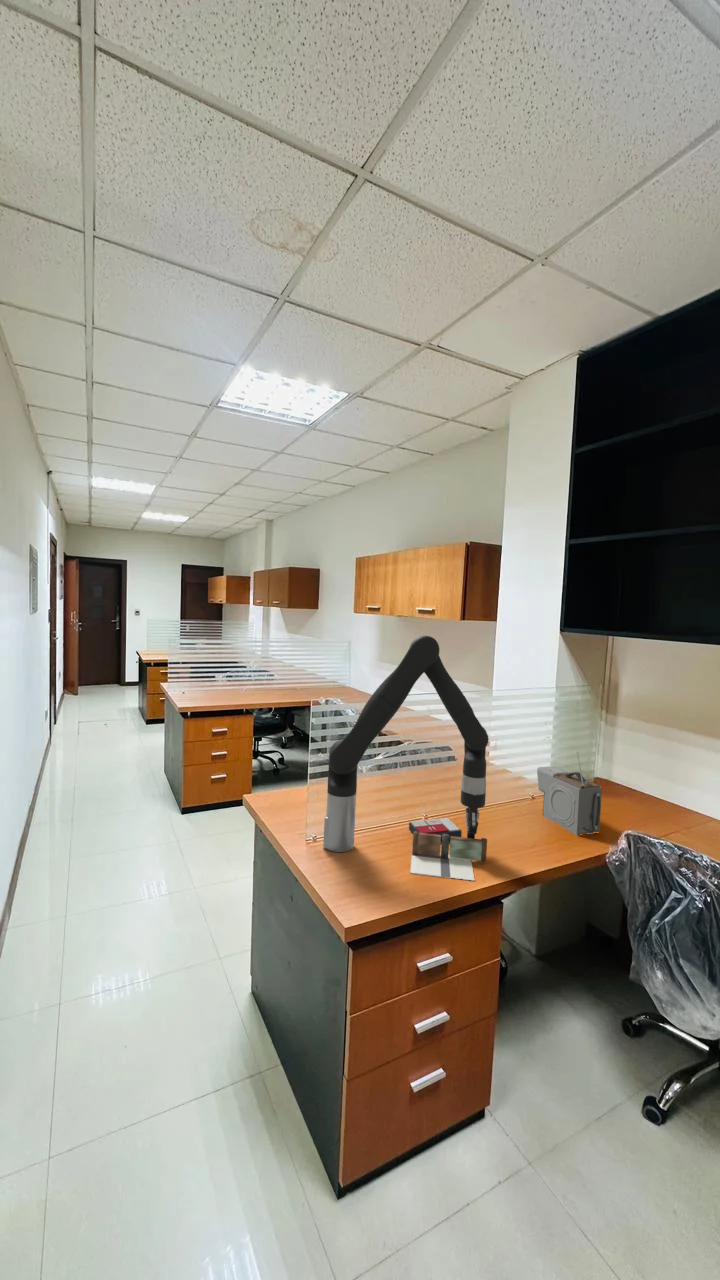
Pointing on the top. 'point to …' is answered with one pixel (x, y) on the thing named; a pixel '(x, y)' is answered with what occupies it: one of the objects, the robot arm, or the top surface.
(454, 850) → the panel
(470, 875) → the card
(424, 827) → the calculator
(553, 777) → the portable television
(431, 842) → the fence fixed section
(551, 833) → the top surface
